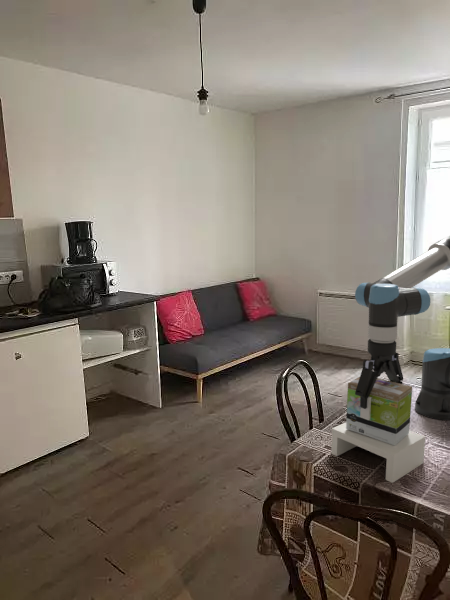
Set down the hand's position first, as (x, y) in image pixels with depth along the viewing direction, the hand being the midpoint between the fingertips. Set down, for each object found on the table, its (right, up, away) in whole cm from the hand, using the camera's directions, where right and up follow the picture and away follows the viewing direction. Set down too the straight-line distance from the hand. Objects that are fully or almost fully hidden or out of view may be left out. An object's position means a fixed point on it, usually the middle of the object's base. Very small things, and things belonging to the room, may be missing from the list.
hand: (379, 411), depth 129 cm
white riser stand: (0, -14, +2) cm, 14 cm away
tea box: (0, -6, +1) cm, 6 cm away
